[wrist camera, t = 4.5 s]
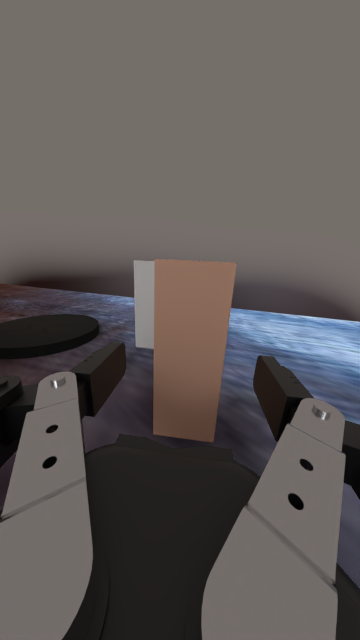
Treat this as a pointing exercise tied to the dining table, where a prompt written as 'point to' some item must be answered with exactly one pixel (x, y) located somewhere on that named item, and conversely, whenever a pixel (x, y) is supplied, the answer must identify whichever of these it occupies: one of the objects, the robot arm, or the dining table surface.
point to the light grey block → (144, 303)
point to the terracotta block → (189, 345)
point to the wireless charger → (45, 335)
